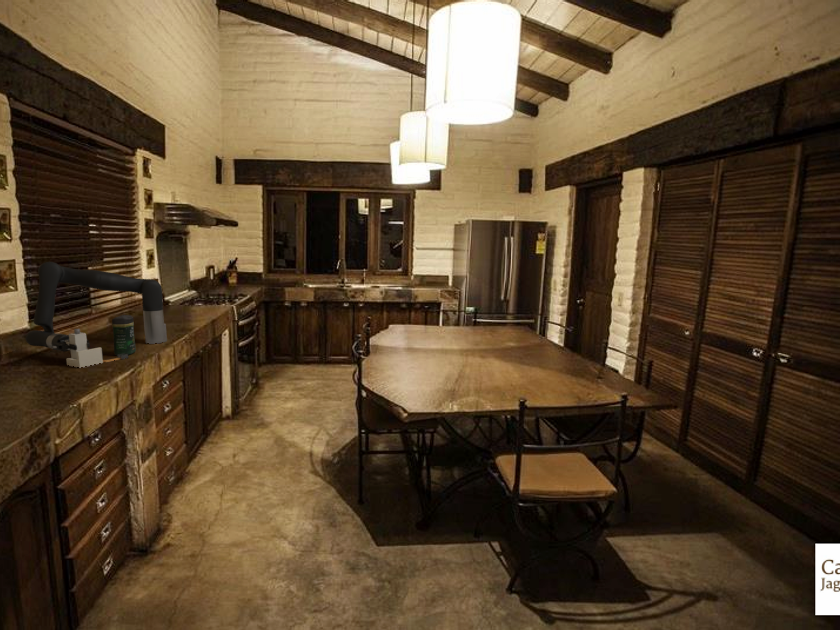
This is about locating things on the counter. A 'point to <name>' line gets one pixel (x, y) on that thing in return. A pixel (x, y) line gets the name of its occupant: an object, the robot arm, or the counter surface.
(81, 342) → the white square bottle
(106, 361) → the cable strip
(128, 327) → the coffee jar
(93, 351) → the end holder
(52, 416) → the counter surface
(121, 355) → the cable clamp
